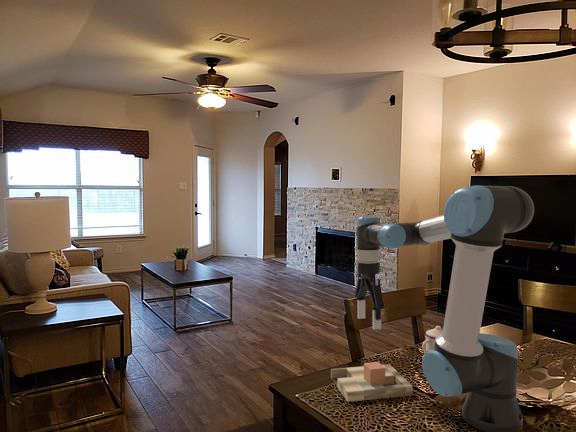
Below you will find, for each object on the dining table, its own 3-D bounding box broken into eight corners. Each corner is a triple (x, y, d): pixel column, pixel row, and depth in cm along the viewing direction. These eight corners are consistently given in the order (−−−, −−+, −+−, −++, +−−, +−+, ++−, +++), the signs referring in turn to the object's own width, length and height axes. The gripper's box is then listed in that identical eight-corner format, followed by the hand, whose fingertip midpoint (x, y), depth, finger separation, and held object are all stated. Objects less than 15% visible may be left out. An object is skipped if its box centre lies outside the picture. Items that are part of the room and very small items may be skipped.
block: (385, 383, 136) (385, 368, 136) (370, 385, 135) (370, 369, 135) (378, 376, 141) (378, 361, 141) (363, 378, 140) (363, 363, 140)
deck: (412, 395, 135) (412, 386, 135) (347, 401, 131) (347, 392, 131) (389, 372, 152) (389, 364, 152) (330, 377, 148) (330, 369, 147)
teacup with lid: (437, 350, 172) (438, 321, 171) (455, 359, 164) (456, 328, 163) (414, 356, 167) (414, 325, 166) (431, 364, 159) (432, 333, 158)
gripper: (395, 266, 139) (395, 333, 139) (364, 256, 163) (365, 313, 164) (372, 267, 137) (373, 334, 138) (345, 257, 162) (346, 315, 162)
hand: (368, 323), depth 151 cm, fingers open, 13 cm apart
